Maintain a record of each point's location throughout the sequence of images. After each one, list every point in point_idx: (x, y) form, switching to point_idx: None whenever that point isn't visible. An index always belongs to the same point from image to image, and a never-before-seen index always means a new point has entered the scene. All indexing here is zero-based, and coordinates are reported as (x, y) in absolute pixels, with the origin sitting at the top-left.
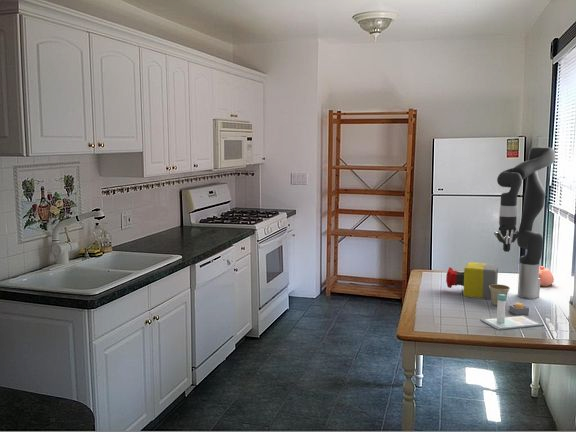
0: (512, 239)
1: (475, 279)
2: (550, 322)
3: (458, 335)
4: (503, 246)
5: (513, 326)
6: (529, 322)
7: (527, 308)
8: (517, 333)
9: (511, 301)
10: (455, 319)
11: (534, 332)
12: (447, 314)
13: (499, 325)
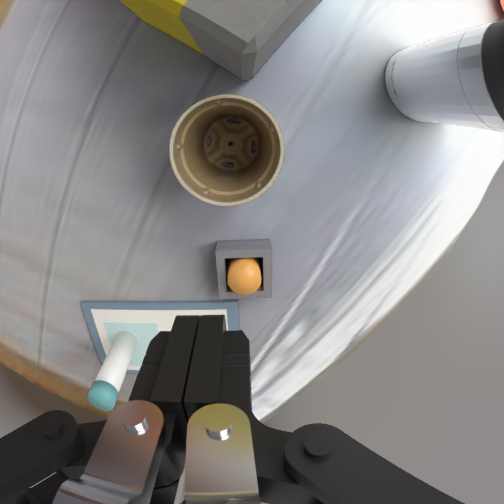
0: (319, 502)
1: (155, 15)
2: (282, 357)
3: (23, 363)
4: (141, 377)
5: None
6: None
7: (264, 296)
8: None
9: (311, 121)
10: (23, 275)
11: None
12: (11, 229)
13: None
